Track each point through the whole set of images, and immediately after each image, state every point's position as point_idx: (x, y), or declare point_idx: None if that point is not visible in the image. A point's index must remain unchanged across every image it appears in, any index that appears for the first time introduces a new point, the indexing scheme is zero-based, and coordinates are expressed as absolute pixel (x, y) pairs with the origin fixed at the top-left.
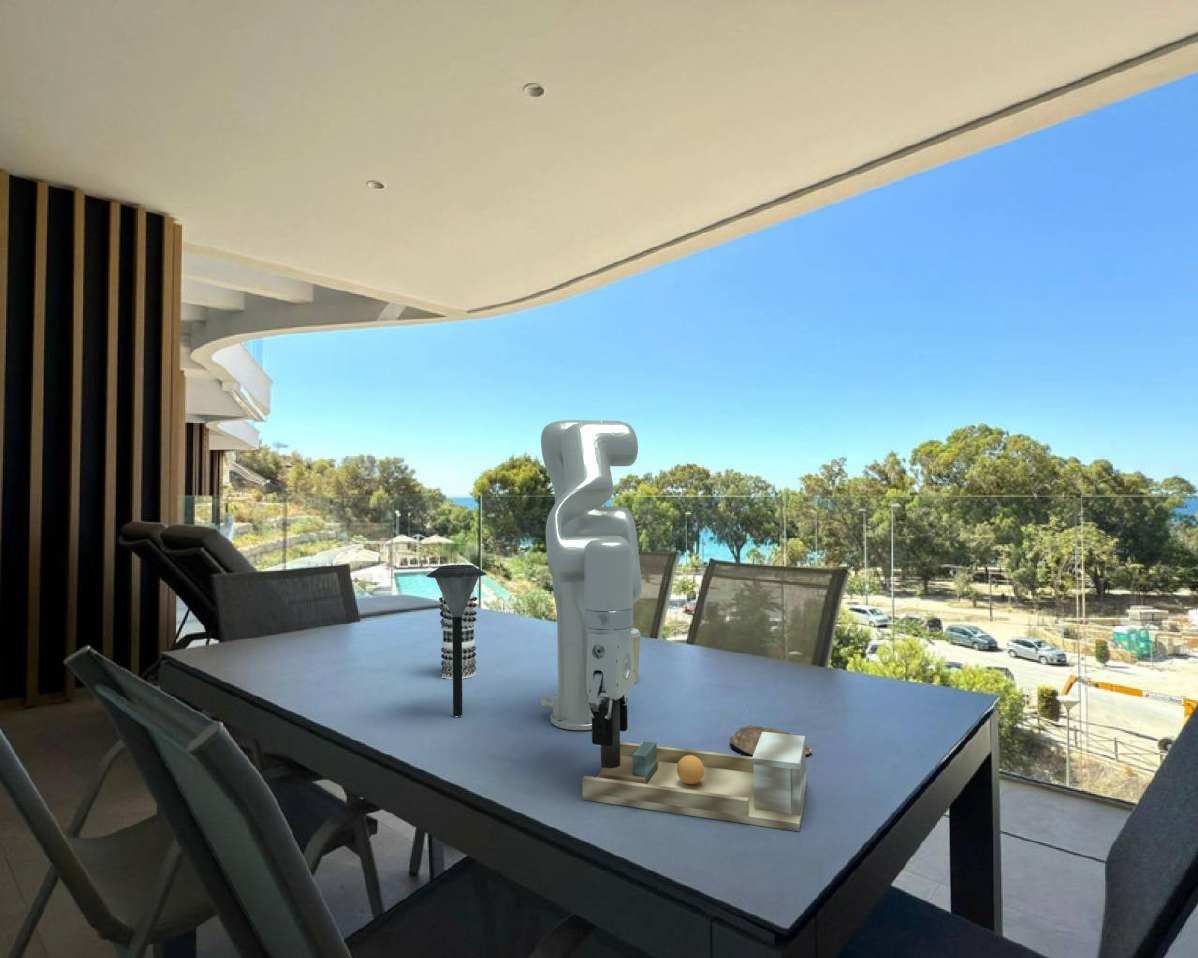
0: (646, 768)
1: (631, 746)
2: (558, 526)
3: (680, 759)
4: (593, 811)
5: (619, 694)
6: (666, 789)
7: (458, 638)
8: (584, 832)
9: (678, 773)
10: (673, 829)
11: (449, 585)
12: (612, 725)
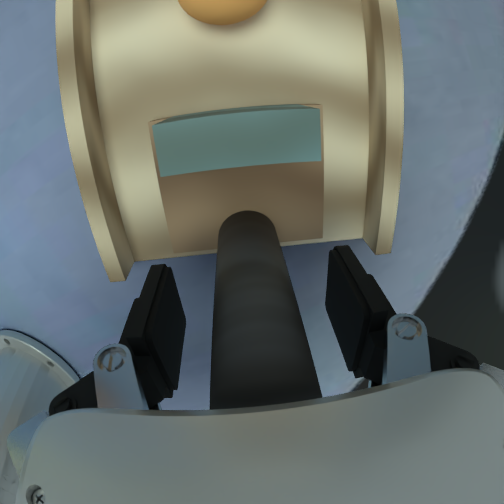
0: (297, 106)
1: (112, 236)
2: None
3: (225, 5)
4: (413, 187)
5: (459, 392)
6: (397, 25)
7: None
8: (475, 174)
9: (255, 13)
10: (431, 18)
11: None
12: (370, 289)
